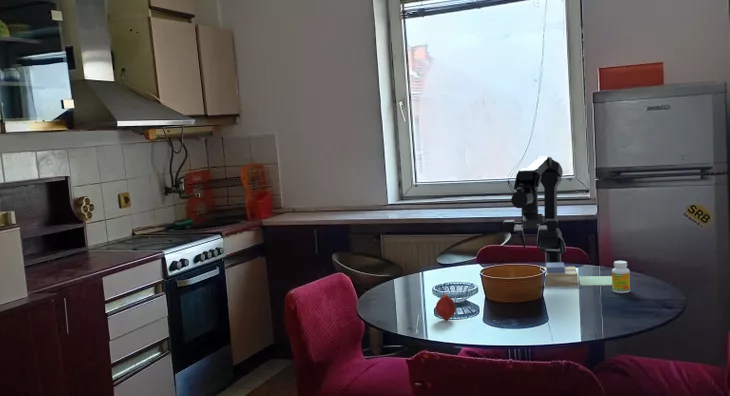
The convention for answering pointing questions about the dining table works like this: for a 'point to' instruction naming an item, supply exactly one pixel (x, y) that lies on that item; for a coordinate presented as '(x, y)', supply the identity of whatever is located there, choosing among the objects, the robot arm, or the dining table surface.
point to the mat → (595, 280)
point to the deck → (562, 277)
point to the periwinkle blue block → (555, 267)
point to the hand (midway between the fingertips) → (531, 248)
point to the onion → (445, 307)
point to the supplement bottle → (620, 277)
